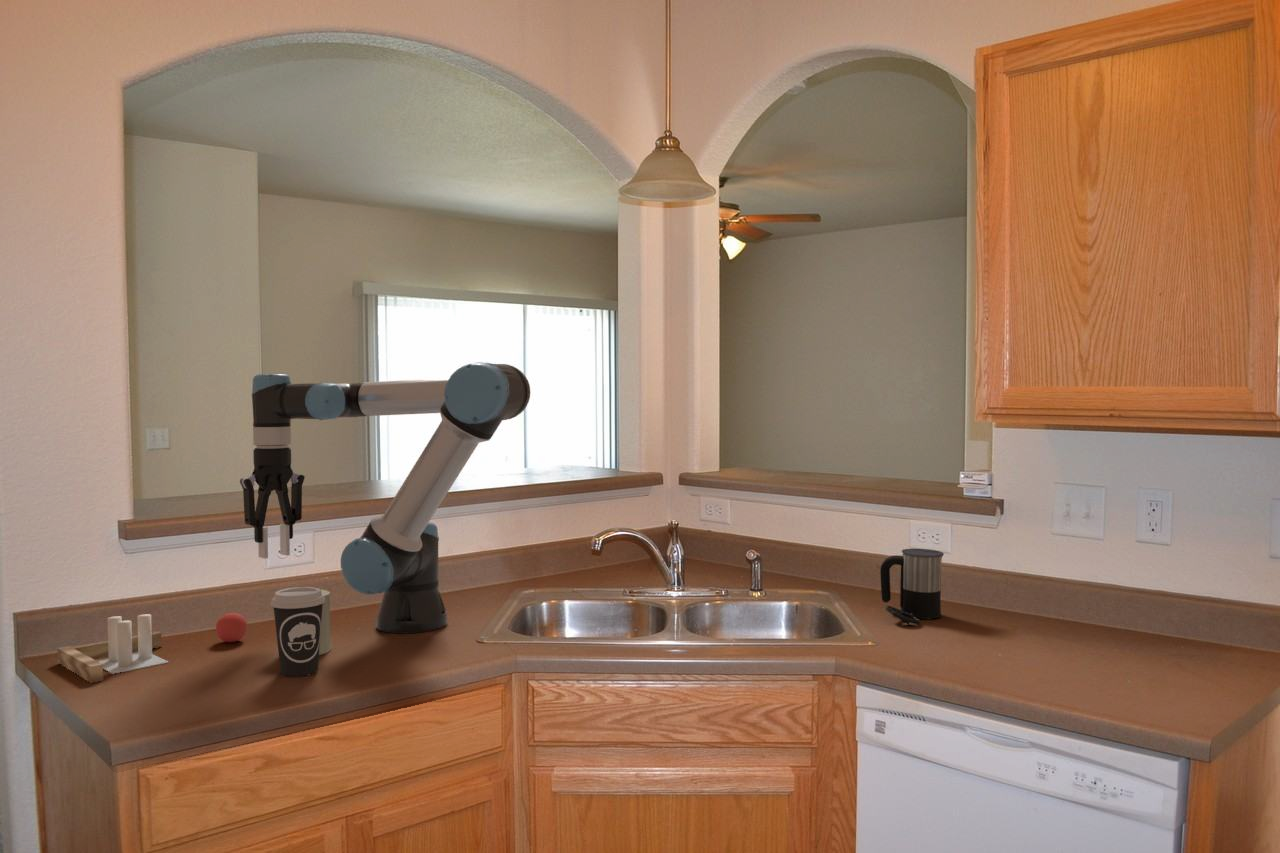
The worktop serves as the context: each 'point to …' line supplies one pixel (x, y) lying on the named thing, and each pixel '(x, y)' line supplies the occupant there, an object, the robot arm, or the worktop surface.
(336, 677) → the worktop surface
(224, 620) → the ball
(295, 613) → the coffee cup
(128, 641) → the pin
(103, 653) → the wooden angle block
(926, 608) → the milk frother
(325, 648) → the can
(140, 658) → the pin front
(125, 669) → the pin deck mark
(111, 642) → the pin
